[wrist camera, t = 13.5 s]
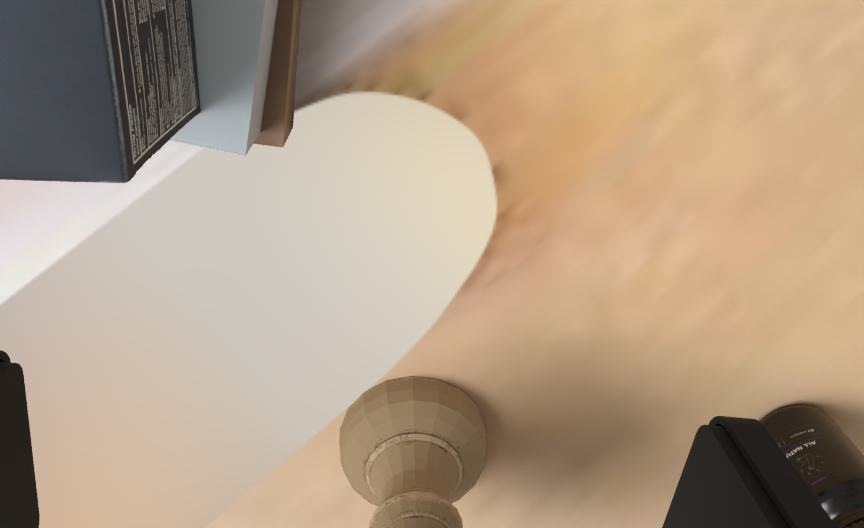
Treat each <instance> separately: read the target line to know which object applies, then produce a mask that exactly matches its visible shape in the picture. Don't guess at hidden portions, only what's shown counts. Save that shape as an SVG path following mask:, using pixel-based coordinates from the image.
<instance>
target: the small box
mask: <svg viewBox="0 0 864 528" xmlns="http://www.w3.org/2000/svg"><path fill="white" fill-rule="evenodd" d="M195 43H196V42H195V37H194V26H193V15H192V4H191V0H0V179H6V180H33V181H68V182H107V183H126V182H128V181H130V180H131V179H132V178H133V177H134V175H135V174H136V171H137V170H139V169H140V168H141V167H142V166H143V164H144V163H145V162H146V161H147V160H148V159H149V158H151V156H152V154H155V153H156V152H157V151H158V150H159V149H160V148H161V147H162V146H163V145H164V144H165V143H166V142H167V141H169V140H170V139H171V138H172V137H173V136H174V135H175V134H176V133H177V132H178V131H179V130H180V129H182V128H183V127H184V126H185V124H187V123H188V122H189V121H190V120H191V119H193V118H194V117H195V116H196V115H198V114H199V113H200V112H201V107H200V99H199V84H198V71H197V61H196V49H195Z"/></svg>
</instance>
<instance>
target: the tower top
mask: <svg viewBox="0 0 864 528" xmlns="http://www.w3.org/2000/svg"><path fill="white" fill-rule="evenodd" d="M191 4H192V15H193V26H194V37H195V42H196V43H195V49H196V61H197V71H198V84H199V99H200V107H201V112H200V113H199V114H198V115H196V116H195V117H194V118H193V119H191V120H190V121H189V122H188V123H187V124H185V126H184V127H183V128H182V129H180V130H179V131H178V132H177V133H176V134H175V135H174V136H173V137H172V138H171V139H170V140H172V141H177V142H182V143H187V144H192V145H197V146H202V147H207V148H212V149H217V150H222V151H227V152H232V153H237V154H241V155H246V154H247V152H248V151H249V149H250V148H251V146H252V144H253V143H254V141H255V140H256V138H257V137H258V135H259V134H260V132H261V124H262V117H263V109H264V102H265V95H266V87H267V80H268V72H269V65H270V57H271V50H272V43H273V35H274V28H275V20H276V13H277V6H278V0H191Z"/></svg>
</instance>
